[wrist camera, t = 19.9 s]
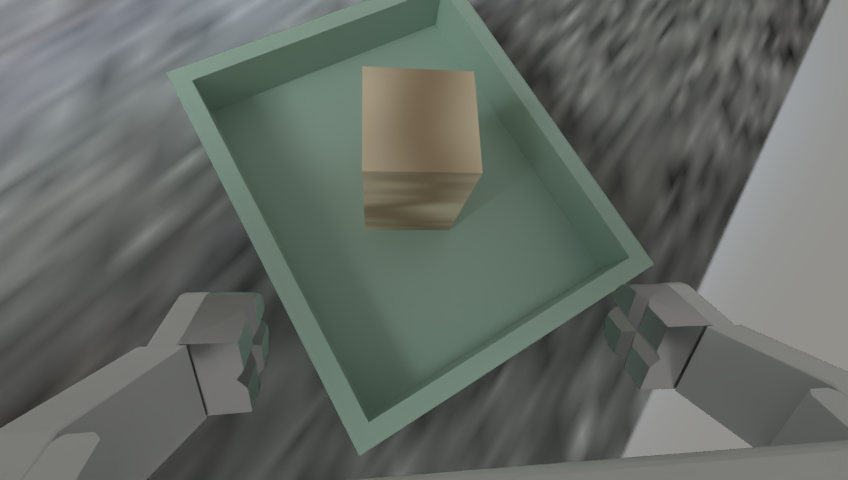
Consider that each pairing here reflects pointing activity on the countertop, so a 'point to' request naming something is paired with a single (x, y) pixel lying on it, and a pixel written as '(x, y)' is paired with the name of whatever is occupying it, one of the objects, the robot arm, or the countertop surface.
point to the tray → (402, 249)
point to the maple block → (418, 146)
